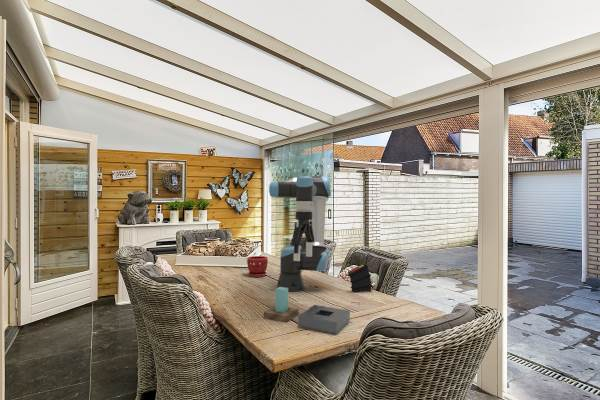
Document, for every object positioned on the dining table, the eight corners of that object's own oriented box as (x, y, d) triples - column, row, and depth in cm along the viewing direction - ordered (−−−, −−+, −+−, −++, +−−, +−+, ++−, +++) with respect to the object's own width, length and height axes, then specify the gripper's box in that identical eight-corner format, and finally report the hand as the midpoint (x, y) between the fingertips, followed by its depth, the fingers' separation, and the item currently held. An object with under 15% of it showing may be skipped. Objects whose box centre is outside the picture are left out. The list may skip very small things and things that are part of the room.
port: (298, 327, 143) (298, 315, 142) (314, 315, 157) (314, 304, 157) (336, 334, 136) (336, 322, 135) (349, 321, 150) (349, 310, 150)
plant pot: (271, 275, 233) (271, 256, 233) (258, 279, 222) (258, 259, 222) (255, 272, 240) (256, 254, 240) (242, 276, 229) (242, 257, 229)
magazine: (377, 288, 198) (367, 264, 196) (357, 299, 195) (346, 275, 193) (373, 286, 202) (363, 262, 200) (354, 297, 199) (343, 274, 197)
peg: (275, 316, 154) (275, 288, 154) (279, 314, 158) (280, 286, 157) (283, 318, 152) (283, 290, 152) (287, 315, 156) (288, 288, 156)
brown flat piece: (263, 317, 152) (264, 311, 152) (276, 310, 162) (276, 305, 162) (286, 322, 148) (286, 316, 148) (298, 314, 158) (298, 308, 157)
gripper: (300, 211, 147) (299, 263, 148) (321, 210, 170) (320, 255, 170) (283, 211, 151) (282, 262, 151) (307, 210, 173) (306, 254, 173)
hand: (303, 258), depth 160 cm, fingers open, 13 cm apart
